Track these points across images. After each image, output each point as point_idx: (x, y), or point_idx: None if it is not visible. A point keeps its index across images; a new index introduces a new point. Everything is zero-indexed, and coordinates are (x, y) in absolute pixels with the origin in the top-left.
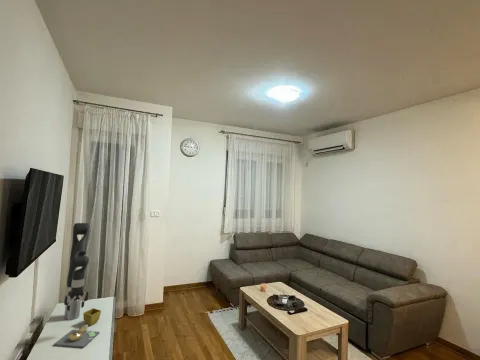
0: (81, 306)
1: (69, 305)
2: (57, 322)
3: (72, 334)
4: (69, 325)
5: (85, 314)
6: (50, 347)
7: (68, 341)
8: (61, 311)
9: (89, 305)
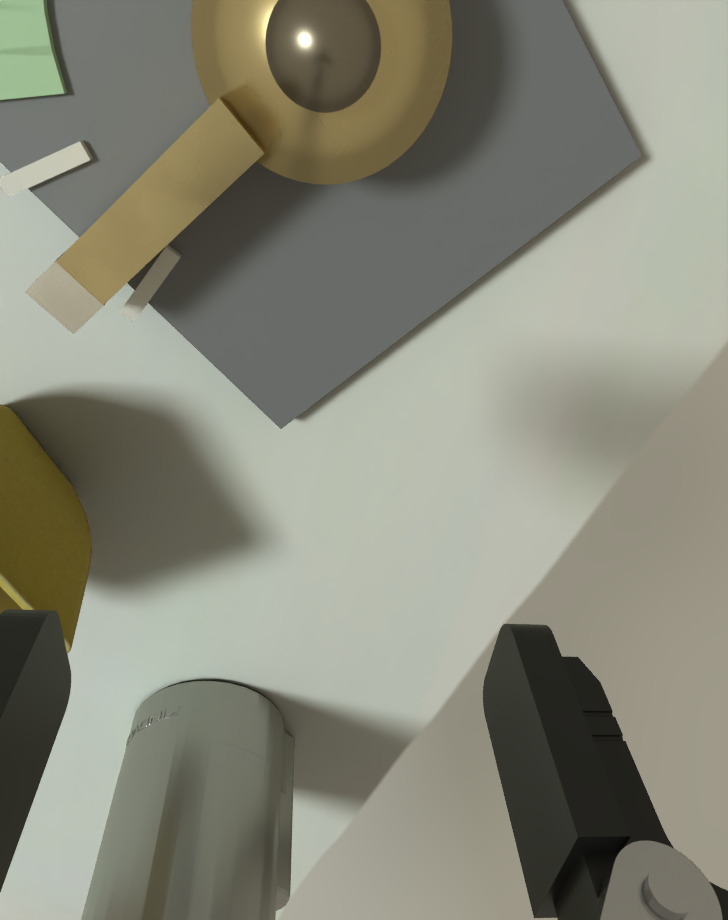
0: (53, 682)
1: (598, 841)
2: (372, 702)
3: (380, 75)
4: (278, 581)
5: (37, 595)
6: (676, 132)
7: None
8: None
9: None
